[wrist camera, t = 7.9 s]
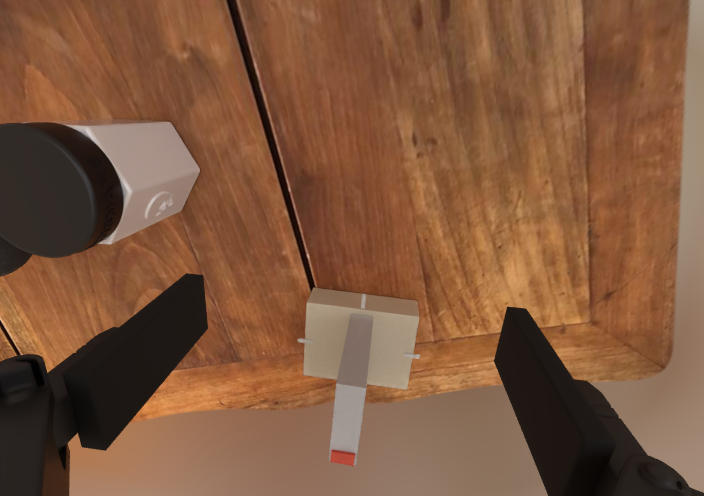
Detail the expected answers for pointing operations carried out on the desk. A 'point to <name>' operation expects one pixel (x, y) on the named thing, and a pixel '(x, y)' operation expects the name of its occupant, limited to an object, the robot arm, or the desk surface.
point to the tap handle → (351, 391)
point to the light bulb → (11, 257)
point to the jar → (89, 181)
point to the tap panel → (386, 342)
